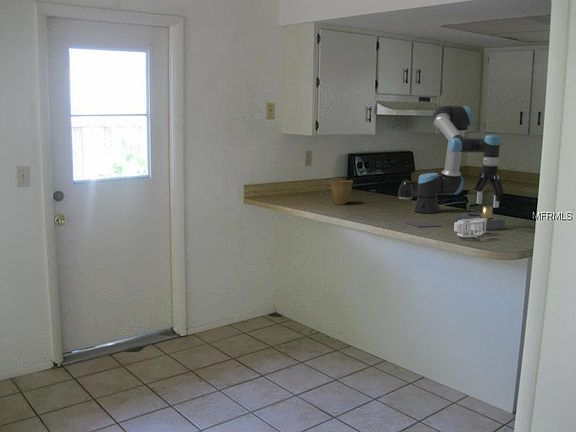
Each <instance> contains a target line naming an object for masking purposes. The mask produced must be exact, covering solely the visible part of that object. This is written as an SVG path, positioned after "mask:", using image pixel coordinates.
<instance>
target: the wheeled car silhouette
mask: <svg viewBox="0 0 576 432" xmlns="http://www.w3.org/2000/svg"><path fill="white" fill-rule="evenodd" d="M469 221H470V222H469ZM486 221H487V219H486V218H474V219H463V220H458V222H456V221H455V222H454V227H453V231H454V232H457V233H456V236H459V237H461V238H476V237H482V235H483V234H486V233H487V230H486ZM483 222H485V225H484V230H483Z"/></svg>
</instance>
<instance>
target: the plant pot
mask: <svg viewBox="0 0 576 432" xmlns="http://www.w3.org/2000/svg"><path fill="white" fill-rule="evenodd" d="M353 184H354V181H353V180H351V179H349V180H348V179H331V180H330V189H331V195H332V199H333V201H334V204H335V203H339V204H345V203H348V201H349V198H350V195H351V192H352V188H353Z"/></svg>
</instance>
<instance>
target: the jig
mask: <svg viewBox="0 0 576 432" xmlns="http://www.w3.org/2000/svg"><path fill="white" fill-rule="evenodd" d="M474 218H482V213H479V212H478V213H477V212H470V213H469V212H467V213H465V212H464V213H456V215H455V222H458V220H463V219H474ZM469 222H470V221H469ZM484 225H485V222H483V230H484ZM505 226H506V219H504V218H500V217H495V216H492V219H487V221H486V231H493V230H494V231H495V230H505Z"/></svg>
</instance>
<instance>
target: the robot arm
mask: <svg viewBox="0 0 576 432" xmlns="http://www.w3.org/2000/svg"><path fill="white" fill-rule="evenodd" d="M431 116H432V117H431V120H432V124H433V125H434V126H435V128H437V129H439V130H440V132H441V133H442V134H443V135H444V137H445V138H446V139H447V142H448V143H447V148H446V155H445V164H444V169H443V170H442V171H441V175H440V174H439V173H437V172H429V173H422V174H420V175H419V176H418V181H417V199H416V201H415V205H414V206H413V211H414V212H417V213H423V214H434V213H435V214H436V213H440V205H439V203H438V195H450V196H451V195H452V196H453V195H459V194H460V193H461V191H462V190H463V187H464V183H465V181H464V177H463V176H462V173H461V172H460V166H461V159H462V153H481V154H482V153H483V158H482V159H483V162H482V163H483V165H482V172H481V173H479V175H478V178H477V181H476V184H475V186H474V190H475V191H476V204H477V205H481V204H482V203H483V193H484V191H483V190H484V188H485V187H486V185H487V184H490V185H491V187H492V189H493V192H494V194H493V206H492V208H499V205H500V199H501V195H504V190H503V186H502V181H501V175H497V173H498V169H499V166H498V165H499V157H500V156H499V155H500V148H501V147H500V145H501V136H500V135H490V134H487V135H485V136H484V137H477V138H473V137H472V138H470V137H469V138H467V137H465V133H466V132H467V131H468V127H471V126H472V124H473V122H474V115H473V111H472V108H470V107H469V106H466V105H442V106H439V107H438V108H436V109H435V111H434V112H433V114H432V115H431Z"/></svg>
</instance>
